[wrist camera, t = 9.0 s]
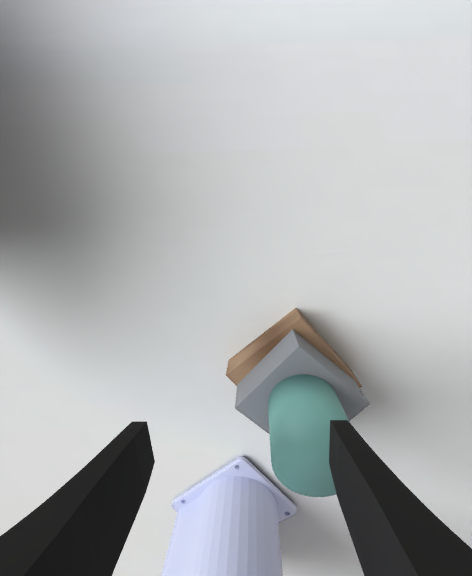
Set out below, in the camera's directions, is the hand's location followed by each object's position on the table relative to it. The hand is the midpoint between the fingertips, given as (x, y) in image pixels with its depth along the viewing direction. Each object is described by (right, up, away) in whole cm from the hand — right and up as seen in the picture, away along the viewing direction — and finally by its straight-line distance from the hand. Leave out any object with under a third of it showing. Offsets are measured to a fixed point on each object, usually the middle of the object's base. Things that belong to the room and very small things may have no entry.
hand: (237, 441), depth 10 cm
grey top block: (+4, -1, +9) cm, 10 cm away
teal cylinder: (+4, -1, +6) cm, 8 cm away
